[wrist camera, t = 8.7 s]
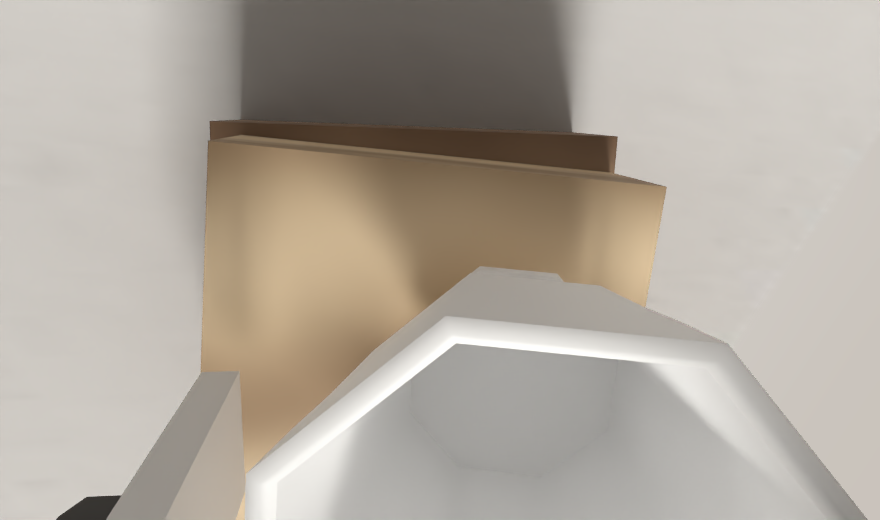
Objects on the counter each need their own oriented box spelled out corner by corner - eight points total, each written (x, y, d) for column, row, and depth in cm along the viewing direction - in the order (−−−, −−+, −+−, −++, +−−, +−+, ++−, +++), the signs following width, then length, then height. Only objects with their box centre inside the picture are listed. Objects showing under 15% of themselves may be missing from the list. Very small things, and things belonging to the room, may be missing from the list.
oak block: (241, 134, 19) (208, 140, 15) (609, 172, 20) (666, 186, 16) (226, 481, 21) (194, 565, 17) (558, 494, 22) (597, 574, 19)
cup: (730, 296, 14) (1047, 512, 6) (507, 641, 16) (536, 1130, 8) (441, 143, 14) (397, 170, 6) (250, 515, 16) (31, 900, 8)
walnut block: (242, 119, 24) (209, 121, 19) (569, 132, 25) (617, 136, 20) (250, 429, 26) (222, 501, 21) (545, 425, 27) (583, 492, 23)
